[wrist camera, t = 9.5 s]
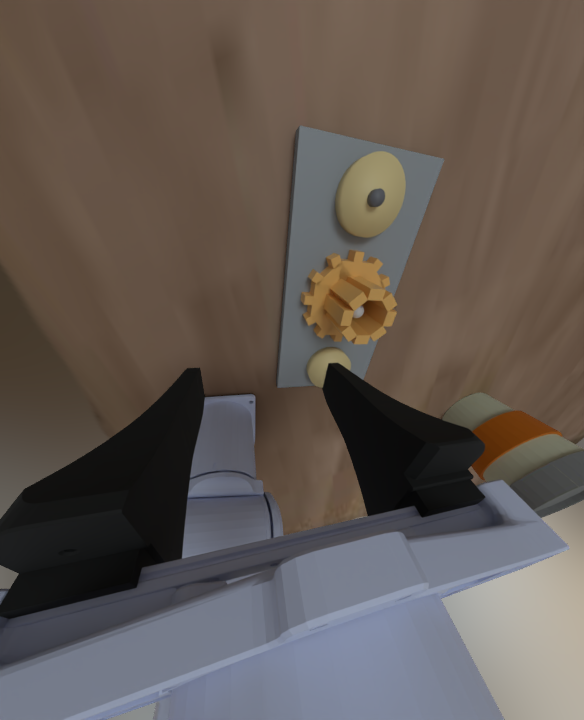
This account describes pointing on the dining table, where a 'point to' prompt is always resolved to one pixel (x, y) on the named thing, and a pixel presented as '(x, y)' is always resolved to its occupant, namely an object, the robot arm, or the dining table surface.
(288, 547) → the robot arm
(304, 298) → the amber gear
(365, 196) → the gear board
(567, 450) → the reusable coffee cup
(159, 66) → the dining table surface
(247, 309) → the dining table surface
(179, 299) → the dining table surface
